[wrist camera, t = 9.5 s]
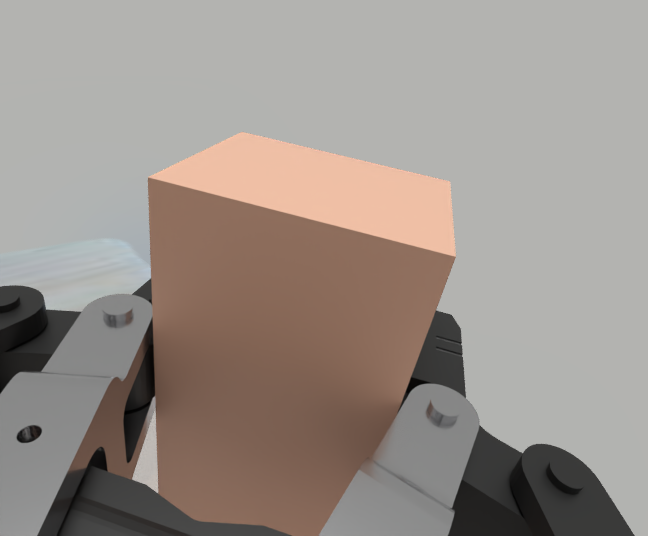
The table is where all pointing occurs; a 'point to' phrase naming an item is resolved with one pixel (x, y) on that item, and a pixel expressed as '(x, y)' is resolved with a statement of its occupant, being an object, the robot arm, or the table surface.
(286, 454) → the tall salmon pink block
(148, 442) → the table surface
